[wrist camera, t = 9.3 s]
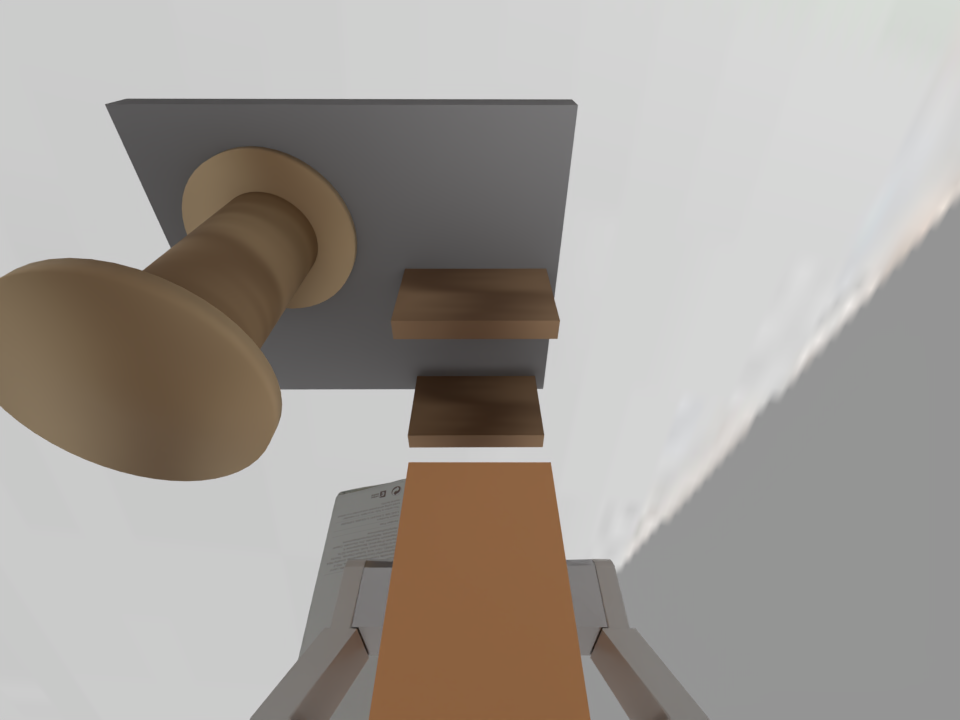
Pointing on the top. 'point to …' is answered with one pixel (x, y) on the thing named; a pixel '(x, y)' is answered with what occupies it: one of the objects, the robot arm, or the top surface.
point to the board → (384, 213)
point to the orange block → (479, 600)
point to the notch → (475, 315)
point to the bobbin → (177, 325)
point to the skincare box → (351, 535)
